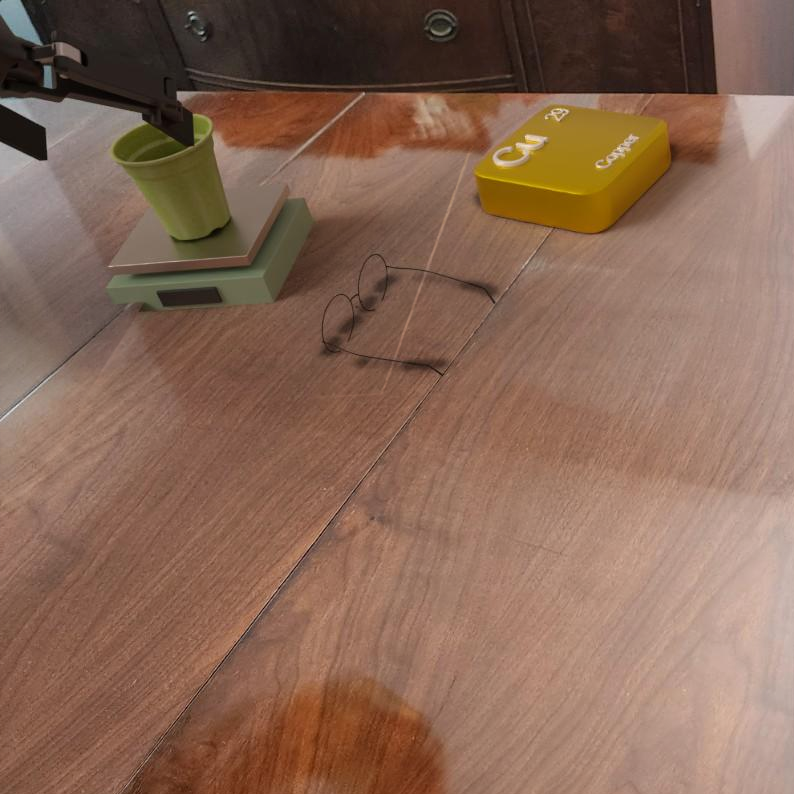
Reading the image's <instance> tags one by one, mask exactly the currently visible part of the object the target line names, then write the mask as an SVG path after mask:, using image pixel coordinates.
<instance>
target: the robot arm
mask: <svg viewBox="0 0 794 794" xmlns="http://www.w3.org/2000/svg"><path fill="white" fill-rule="evenodd" d="M45 67H50V75H51V88H50V87H45ZM176 77H177V76H176V74H175V73H174V72H171V71H168V70H164V69H163V68H159V67H157V66H154V65H150V64H148V63H145V62H141V61H138V60H136V59H133V58H130V57H127V56H124V55H122V54H119V53H116V52H112V51H109V50H106V49H104V48H101V47H98V46H95V45H92V44H89V43H86V42H85V41H82V40H81V39H79V38H77V37H76V36H74V35H72V34H70V33H68V32H66V31H63V30H54V31H51V43H49V44H44V45H41V44H37V43H35V42H34V41H31V40H28V39H25V38H23V37H21V36H18V35H16V34H14V32H13V30H12V29H11V28H10V26H9V25H8V23H7V22H6V21H5V18H4V17H3V15H2V14H1V13H0V99H2V100H3V99H11V98H15V99H19V100H21V99H25V98H32V99H37V100H41V101H46V102H52V103H57V104H59V103H60V104H61V103H62V102H63V101H65V99H71V100H74V101H80V102H85V103H89V104H95V105H100V106H104V107H108V108H114V109H118V110H123V111H128V112H133V113H138V114H141V120H142V121H144V123H146V122H147V123H149V124H150V125H152V126H153V127H155V128H157V129H158V130H160V131H161V132H163V133H165V134H166V135H168V136H170V137H171V138H173V139H174V140H176V141H178V142H179V143H181V144H182V145H184V146H186V147H191V146H195V144H194V126H193V114H194V113H193V112H192V111H190V110H189V109H188V108H186V107H185V106H183V103H182V102H181V101H180V100H179V99H178V91H177V90H178V89H177V78H176ZM47 141H48V140H47V128H46V127H45V126H43V125H41V124H39V123H38V122H36V121H34V120H32V119H31V118H28V117H26V116H24V115H22V114H20V113H18V112H16V111H14V110H13V109H11V108H9V107H7V106H6V105H3V104H2V103H0V143H2V144H3V145H6V146H8V147H10V148H12V149H14V150H16V151H18V152H20V153H23V154H24V155H26V156H29V157H30V158H33V159H34V160H37V161H39V162H45V161H48V160H49V159H48V144H47V143H48V142H47Z"/></svg>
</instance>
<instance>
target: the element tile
mask: <svg viewBox="0 0 794 794" xmlns="http://www.w3.org/2000/svg"><path fill="white" fill-rule="evenodd" d="M670 145H671V143H670V135H669V125H668V123H667V122H666V120H664V119H662V118H658V117H653V116H647V115H638V114H633V113H624V112H617V111H611V110H603V109H597V108H590V107H589V108H588V107H582V106H574V105H568V104H555V103H554V104H549V105H547V106H545V107H543V108H542V109H541V110H538V111H537V112H536V113H535V114H534V115H533V116H532V117H531V118H529V119H528V120H527V121H526V122H525V123H523V124H522V125H521V126H520V127H519V128H517V129H516V130H515V131H514V132H513V133H511V135H510V136H508V137H507V138H506V139H504V141H502V142H501V143H500V144H499V145H498V146H496V147H495V148H494V149H493V150H492V151H490V152H489V153H488V154H487V155H485V156H484V157H483V158H482V159H481V160H480V161H478V162H477V164H476V165H475V166H474V168H473V170H472V171H473V177H474V180H475V184H476V188H477V192H478V196H479V200H480V205H481V208H482V210H483V211H484V212H486V213H487V214H489V215H492V216H496V217H502V218H506V219H510V220H516V221H521V222H525V223H531V224H536V225H541V226H546V227H552V228H557V229H560V230H566V231H572V232H576V233H582V234H596V233H597V234H598V233H601V232H603V231H605V230H608V229H610V228H611V227H612V226H613V225H614V224H615V223H616V222H617V221H618V220H619V219H620V218H621V217H622V216H623V215H624V214H626V212H627V211H628V210H629V209H630V208H631V207H632V206H633V205H634V204H635V203H636V202H637V201H638V200H639V199H640V198H641V197H642V196H643V195H644V194H645V193H646V192H647V191H649V189H650V188H651V187H652V186H653V185H654V184H655V183H656V182H657V181H658V180H659V179H660V178H661V177H662V176H663V175H664V174H665V173H666V172H667V171H668V170H669V168H670V167H671V163H672V153H671V146H670Z"/></svg>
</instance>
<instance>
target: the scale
mask: <svg viewBox="0 0 794 794" xmlns="http://www.w3.org/2000/svg"><path fill="white" fill-rule="evenodd" d="M314 223H315V222H314V220H313V217H312V214H311V211H310V209H309V206H308V204H307V201H306V198H305V197H295V198H287V199H286V201H285V203H284V205H283V207H282V209H281V210H280V212H279V214H278V216H277V218H276V220H275V221H274V223H273V225H272V227H271V229H270V231H269V232H268V234H267V236H266V238H265V240H264V242H263V243H262V245H261V247H260V249H259V251H258V253H257V254H256V256H255V258H254V260H253V262H252V264H251V265H245V266H232V267H219V268H206V269H193V270H179V271H166V272H153V273H140V274H127V275H114V276H113V277H112V278H111V279H110V281H109V283H108V284H107V286H106V287H105V289H106V291H107V293H108V295H109V296H110V298H111V300H112V302H113V304H114V305H121V304H122V305H123V304H135V303H137V304H138V303H143V304H142V305H141V307H140V309H139V310H138V313H145V312H159V311H174V310H175V311H176V310H188V309H201V308H204V309H205V308H217V307H231V306H245V305H246V306H247V305H260V304H261V305H262V304H273V303H275V302H276V300H277V298H278V296H279V294H280V292H281V290H282V289H283V286H284V284H285V282H286V280H287V278H288V276H289V274H290V272H291V270H292V269H293V266H294V264H295V262H296V260H297V258H298V256H299V255H300V252H301V250H302V249H303V246H304V244H305V242H306V240H307V239H308V237H309V235H310V232H311V230H312V228H313V227H314V225H315V224H314Z"/></svg>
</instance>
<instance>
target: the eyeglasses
mask: <svg viewBox="0 0 794 794" xmlns="http://www.w3.org/2000/svg"><path fill="white" fill-rule="evenodd" d="M373 256H379V257H380V258H381V259H382V261H383V263H384V266H385V272H386V273H385V274H386V283H385V288H384V291H383V295H382V297H381V300H380V302H382V301H383V300H384V297H385V296H386V291H387V288H388V282H389V281H388V279H389V276H388V275H389V274H388V268H391V269H394V270H395V269H397V270H411V271H419V272H420V271H421V272H426V273H431V274H434V275H438V276H441V277H444V278H447V279H450V280H454V281H457V282H461V283H464V284H467V285H469V286H471V287H475V288H478V289H482V290H483V291H485V293H486V294H487V296H488V298H489V299H490V300H491V302H492V304H493V305H495V304H497V302H496V301H495V299H494V298H493V297H492V295H491V294H490V292H489V291H488V290H487V288H486V287H484V286H481V285H478V284H475V283H472V282H468V281H465V280H461V279H458V278H454V277H451V276H447V275H444V274H440V273H438V272H435V271H431V270H425V269H419V268H412V267H411V268H410V267H396V266H391V265H387V263H386V261H385V258H384V257H383V256H382V255H380V254H378V253H373V254H371V255H369V256H368V257H367V258H366V259H365V261H364V262H363V265H362V266H361V269H360V272H359V276H358V280H357V293H355V294H354V295H352V296H351V297H350V298H349V296H348V295H346V294H345V293H339V294H336V295H334V296H333V297H332V298H331V299H330V300H329V301H328V303H327V305H326V307H325V309H324V312H323V315H322V320H321V321H322V322H321V339H322V341H321V342H322V344H324V346H325V348H326V350H328V351H329V352H330V353H334V354H336V353H339V352H341V351H343V352H346V353H348V354H352V355H355V356H358V357H363V358H368V359H376V360H382V361H388V362H394V363H402V364H407V365H413V366H422V367H428V368H430V369H431V370H432V371H434V372H435V373H437V374H438V375H440V376H441V377H443V376H444V374H443V372H441V371H439V370H437V369H436V368H435V367H433V366H431V365H429V364H425V363H418V362H412V361H401V360H396V359H390V358H389V359H388V358H383V357H376V356H369V355H362V354H358V353H355V352H351V351H349V350H346V349H344V348H342V347H339V346H336V345H334V344H333V343H330V342H326V341H325V338H324V320H325V316H326V313H327V310H328V308H329V305H331V303H332V301H333V300H334V299H335V298H336V297H338V296H343V297H346V298H347V300H348V301H349V303H350V306H351V310H352V325H351V330H350V334H349V336H348V339H347V340H346V343H348V342H349V341H350V339H351V336H352V334H353V330H354V325H355V308H356V309H359V306H358V305H357V303H355V307H354V305H353V302H352V301H353V299H354V298H355V297H358V301H359V303H360V305H361V307H362V308H363V309H364V311H366V312H373V311H375V310H376V308H373V309H367V308H366V307H364V305H363V303H364V301H363V299H362V300H361V297H360V296H361V295H360V281H361V276H362V272H363V269H364V266H365V265H366V263H367V262H368V260H370V258H371V257H373ZM327 345H330V346H332V347H334V348H337V349H338V350H336V351H333V350H331V349H329V347H328V346H327Z"/></svg>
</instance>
